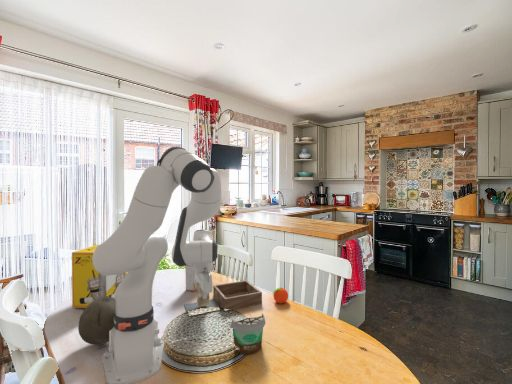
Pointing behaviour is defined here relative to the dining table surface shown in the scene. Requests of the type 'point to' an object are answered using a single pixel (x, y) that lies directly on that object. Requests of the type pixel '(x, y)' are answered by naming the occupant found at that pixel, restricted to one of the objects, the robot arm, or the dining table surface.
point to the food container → (248, 334)
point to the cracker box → (190, 279)
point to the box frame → (237, 301)
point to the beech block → (200, 300)
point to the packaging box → (90, 279)
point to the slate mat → (195, 306)
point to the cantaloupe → (97, 320)
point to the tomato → (280, 295)
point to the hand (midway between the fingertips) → (203, 295)
